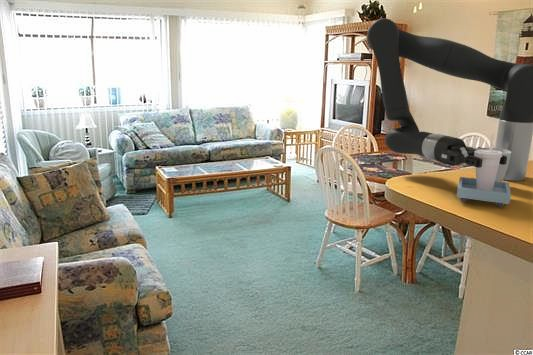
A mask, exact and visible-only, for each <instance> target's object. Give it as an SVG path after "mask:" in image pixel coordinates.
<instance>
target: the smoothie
mask: <svg viewBox="0 0 533 355" xmlns="http://www.w3.org/2000/svg"><path fill="white" fill-rule="evenodd" d="M494 138H495V137H494V134H492V133H491V135H490V145H489V148H490V150H476V151H474V156H475V157H477V158H481V159H482V160H483V161H482V167H480V168H477V167H475V179H476V187H477V189H479V190H487V191H492V190H493V187H494V183H495V179H496V175H497V170H498V166H499V163H500V158H501V157H502V152H500V151H496V150H492V148H494V147H493V146H494Z"/></svg>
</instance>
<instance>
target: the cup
mask: <svg viewBox="0 0 533 355" xmlns="http://www.w3.org/2000/svg"><path fill="white" fill-rule="evenodd" d="M484 148H485V149H490V147H484ZM492 150H496V151H500V152H502V155H504V156H507V163H506V164H505V165H501V164H499V166H498V170H497V175H496V179H495V181H500V182H504V176H505V173H506V171H507V168H508V164H509V160H510V156H511V151H509V150H505V149H499V148H495V147H492Z"/></svg>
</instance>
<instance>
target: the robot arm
mask: <svg viewBox="0 0 533 355" xmlns="http://www.w3.org/2000/svg"><path fill="white" fill-rule="evenodd" d="M366 43H367V45H368V47H369V48H370V49H371V50H372V52H373V55H374V56H375V59H376V63H377V67H378V71H379V78H380V79H379V80H380V87H381V88H380V89H381V94H382V101H383V107H384V112H385V116H386V119H387V120H388V121H391V122H397V123H398V124H399V126H400V127H397V128H393V129H391V130H389V131H388V132H387V133H386V135H385V138H384V142H385V145H386V147H387V149H389V150H390V151H392V152H394V153H395V154H396V153H397V154H403V155H404V154H406V155H417V156H420V157H424V158H427V159H429V160H431V161H434V162H438V163H440V164H445V165H447V166H451V167H452V166H453V167H454V166H460V165H464V166H471V167H474V168H476V167H477V168H480V167H482V161H483V160H482V159H481V158H477V157H475V156H474V151H476V150H490V149H485V148H486V147H481V146H478V147H474V146H467V145H466V142H465V141H464V140H463V139H461V138H459V137H455V136H449V135H446V134H440V133H432V132H428V131H420V129H419V126H418V125H417V122H416V121H415V118H414V117H413V115H412V112H411V111H410V106H409V101H408V95H407V91H406V86H405V82H404V78H403V74H402V69H401V60H400V58H403V59H407V60H408V61H412V62H413V63H416V64H417V65H418V64H419V65H421V66H423V67H425V68H428V69H430V70H434V71H436V72H440V73H442V74H445V75H448V76H452V77H456V78H460V79H464V80H471V81H476V82H481V83H483V84H487V85H490V86H492V87H494V88H496V89H498V90H501V91H503V92H505V93H506V96H505V102H504V106H503V107H502V109H501V111H500V113H499V119H498V127H497V133H496V139H495V146H494V148H499V149H505V150H509V151H511V156H510V160H509V164H508V168H507V171H506V173H505V176H504V179H503V181H504V180H505V181H513V182H516V181H517V182H518V181H525V180H526V175H527V169H528V163H529V158H530V153H531V147H532V141H533V64H526V63H523V64H522V63H521V64H520V63H515V62H509V61H506V60H505V61H504V60H500V59H497V58H494V57H491V56H489V55H487V54H485V53H483V52H482V51H479V50H477V49H475V48H473V47H471V46H468V45H466V44H463V43H459V42H456V41H453V40H449V39H445V38H440V37H431V36H422V35H417V34H413V33H410V32H408V31H406V30H404V29H403V30H402V29H400V28H399V27H398V25H397V23H396V22H394V21H393V20H391V19H390V18H379V19H377V20H375V21H374V22H373V23H371V25H370V26H369V28H368V30H367V34H366ZM506 163H507V156H504V155H502V157H501V158H500V163H499V164H501V165H505V164H506Z"/></svg>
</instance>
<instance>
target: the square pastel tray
mask: <svg viewBox="0 0 533 355" xmlns="http://www.w3.org/2000/svg"><path fill="white" fill-rule="evenodd" d="M511 192H512V191H511V187H510V183H509V182H507V181H502V182H500V181H495V183H494V187H493V190H492V191H487V190H479V189H477V187H476V177H474V178H473V177H464V176H459V180H458V185H457V190H456V198H460V201H461V203H467V202H468V200H475V201H476V200H477V201H484V202H491V203H496V207H497V208H503V207H504V206H505V204H506V205H510V203H511V198H512V197H511V196H512V193H511Z"/></svg>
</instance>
